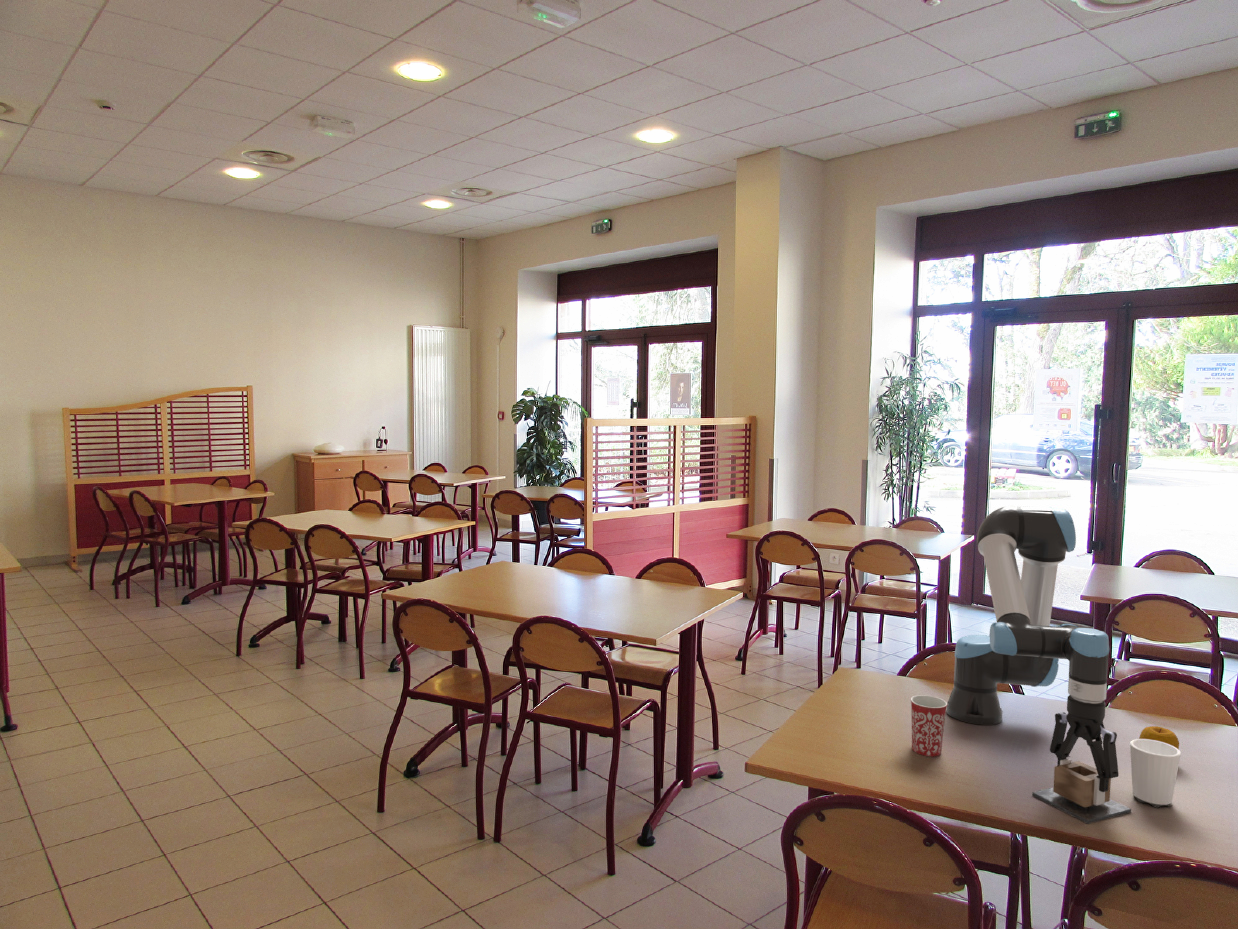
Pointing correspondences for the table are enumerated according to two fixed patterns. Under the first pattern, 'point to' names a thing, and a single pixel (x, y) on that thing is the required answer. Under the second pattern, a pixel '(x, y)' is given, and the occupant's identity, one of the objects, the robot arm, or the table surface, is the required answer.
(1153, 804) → the cup
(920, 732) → the mug
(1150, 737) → the apple
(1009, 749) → the table surface
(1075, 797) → the collar
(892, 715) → the table surface
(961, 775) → the table surface
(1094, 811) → the peg base
